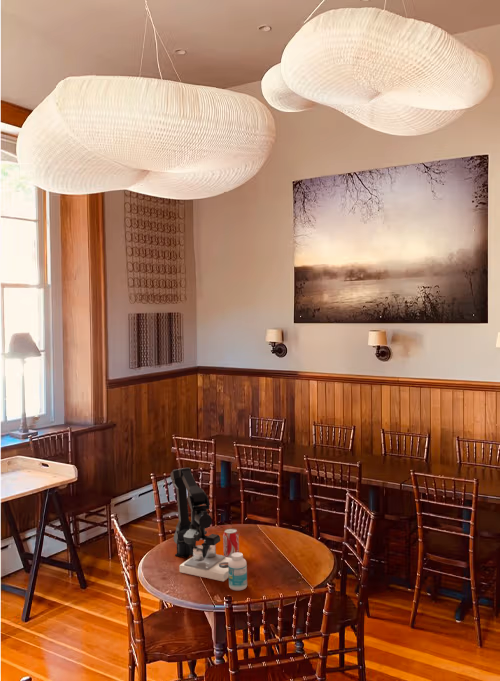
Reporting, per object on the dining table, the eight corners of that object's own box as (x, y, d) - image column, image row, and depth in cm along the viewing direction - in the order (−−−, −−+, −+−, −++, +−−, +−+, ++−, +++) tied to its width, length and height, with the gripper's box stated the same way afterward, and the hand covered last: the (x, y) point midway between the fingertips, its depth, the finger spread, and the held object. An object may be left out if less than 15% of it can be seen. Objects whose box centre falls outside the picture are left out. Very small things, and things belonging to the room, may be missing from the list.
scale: (179, 572, 263) (179, 563, 263) (199, 558, 277) (199, 550, 277) (223, 581, 253) (223, 572, 253) (242, 566, 267) (241, 558, 267)
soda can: (237, 560, 275) (236, 533, 274) (221, 559, 276) (221, 533, 275) (240, 553, 281) (239, 528, 281) (225, 553, 283) (224, 527, 282)
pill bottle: (228, 583, 251) (227, 551, 250) (246, 582, 251) (245, 550, 251) (229, 591, 243) (228, 558, 243) (247, 590, 244) (247, 557, 243)
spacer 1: (191, 560, 261) (190, 548, 261) (197, 555, 266) (197, 544, 265) (200, 562, 259) (200, 550, 259) (207, 557, 263) (206, 546, 263)
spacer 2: (202, 557, 269) (202, 545, 269) (208, 553, 274) (208, 542, 273) (212, 559, 267) (211, 547, 267) (218, 554, 271) (217, 543, 271)
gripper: (169, 523, 259) (170, 559, 260) (206, 530, 250) (207, 567, 251) (184, 515, 269) (185, 550, 269) (220, 521, 260) (221, 557, 261)
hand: (199, 556), depth 262 cm, fingers closed on spacer 1, 5 cm apart
